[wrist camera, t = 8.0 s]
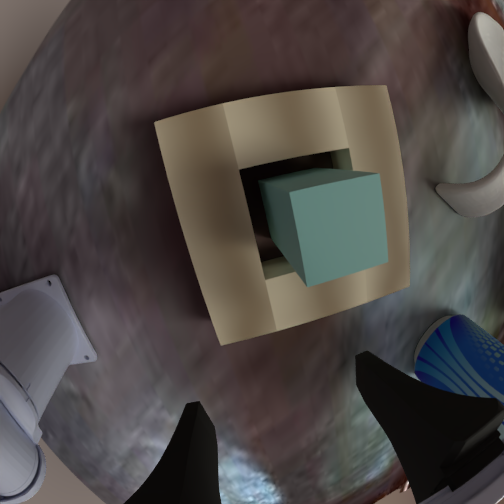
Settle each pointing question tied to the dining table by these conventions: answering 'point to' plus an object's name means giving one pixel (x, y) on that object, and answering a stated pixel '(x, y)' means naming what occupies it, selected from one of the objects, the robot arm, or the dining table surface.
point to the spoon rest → (500, 91)
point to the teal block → (326, 221)
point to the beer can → (461, 359)
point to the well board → (236, 210)
